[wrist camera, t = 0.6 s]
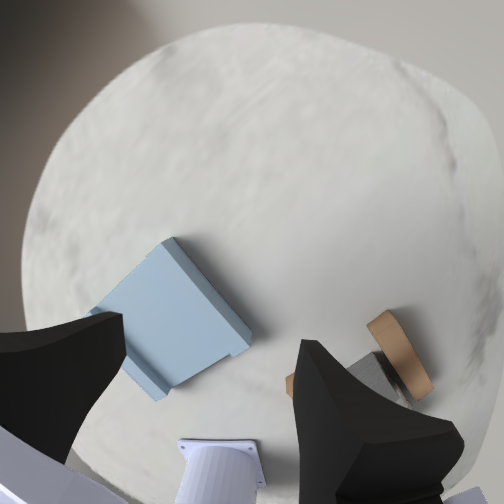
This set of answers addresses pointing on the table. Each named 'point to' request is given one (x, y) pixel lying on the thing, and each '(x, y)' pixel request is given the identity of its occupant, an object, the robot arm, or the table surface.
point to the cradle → (172, 321)
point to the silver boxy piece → (378, 379)
